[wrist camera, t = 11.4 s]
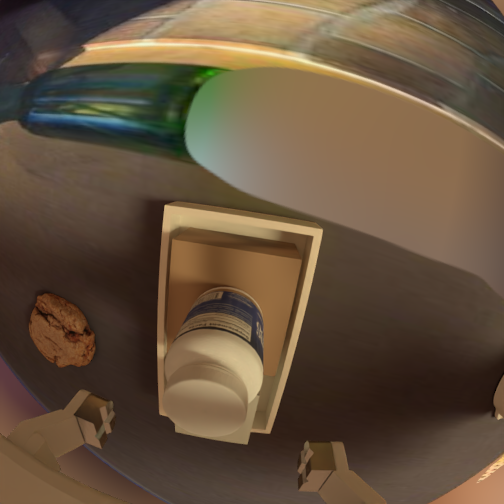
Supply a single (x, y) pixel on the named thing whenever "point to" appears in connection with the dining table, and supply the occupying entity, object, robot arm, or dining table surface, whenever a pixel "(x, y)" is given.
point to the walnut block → (235, 280)
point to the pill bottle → (215, 363)
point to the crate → (253, 225)
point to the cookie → (61, 331)
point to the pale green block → (237, 436)
